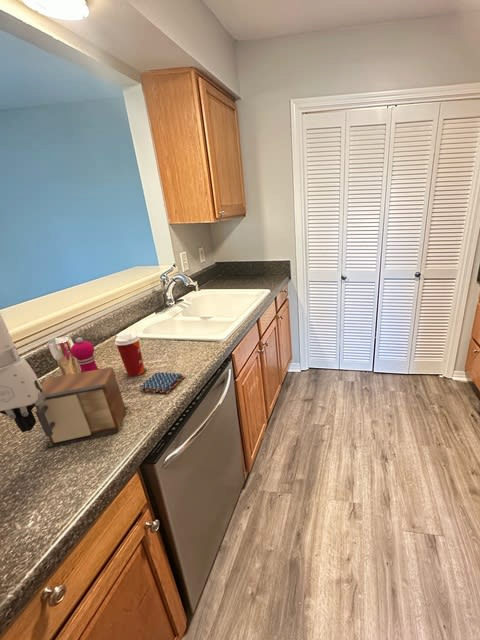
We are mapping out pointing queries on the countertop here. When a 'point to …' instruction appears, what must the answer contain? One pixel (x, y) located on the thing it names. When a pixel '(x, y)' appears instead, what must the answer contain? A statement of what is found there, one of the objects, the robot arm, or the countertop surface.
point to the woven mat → (161, 382)
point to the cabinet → (90, 400)
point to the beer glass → (64, 355)
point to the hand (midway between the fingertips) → (29, 427)
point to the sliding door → (63, 418)
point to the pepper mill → (84, 355)
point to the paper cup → (130, 353)
